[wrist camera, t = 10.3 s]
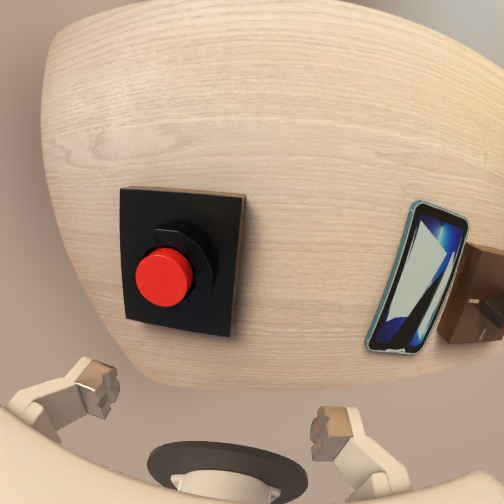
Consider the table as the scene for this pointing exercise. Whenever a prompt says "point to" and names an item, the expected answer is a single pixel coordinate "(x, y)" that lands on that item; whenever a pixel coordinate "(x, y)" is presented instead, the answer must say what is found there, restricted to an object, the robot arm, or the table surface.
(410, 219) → the smartphone
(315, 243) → the table surface
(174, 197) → the switch box
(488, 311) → the dial knob
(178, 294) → the light button
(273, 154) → the table surface
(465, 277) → the dial panel
